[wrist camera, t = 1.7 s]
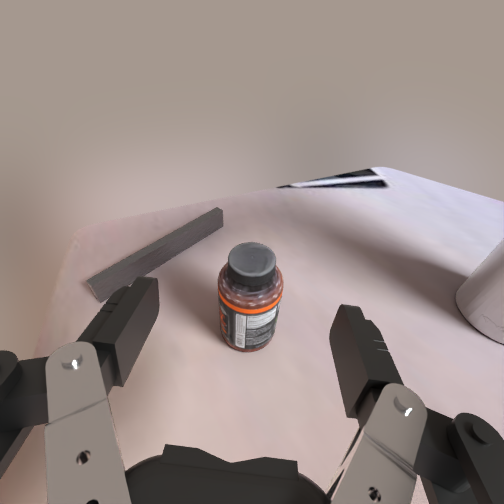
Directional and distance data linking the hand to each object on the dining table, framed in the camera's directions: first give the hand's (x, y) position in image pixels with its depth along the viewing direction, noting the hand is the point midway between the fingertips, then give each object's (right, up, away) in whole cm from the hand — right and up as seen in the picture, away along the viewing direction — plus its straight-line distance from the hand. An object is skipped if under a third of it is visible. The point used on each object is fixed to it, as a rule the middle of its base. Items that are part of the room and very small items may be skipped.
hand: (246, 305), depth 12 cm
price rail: (-11, +2, +26) cm, 28 cm away
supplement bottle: (0, -6, +18) cm, 20 cm away
